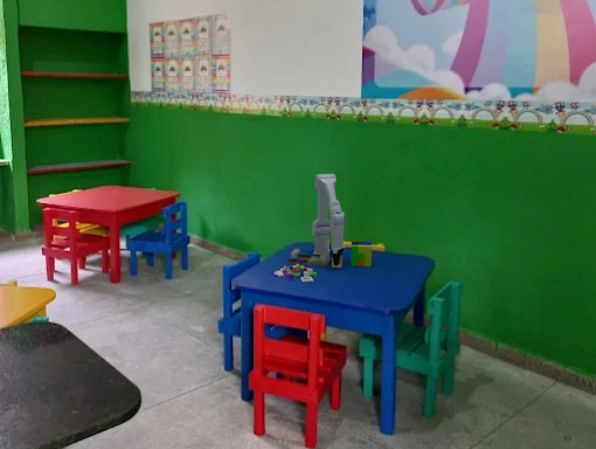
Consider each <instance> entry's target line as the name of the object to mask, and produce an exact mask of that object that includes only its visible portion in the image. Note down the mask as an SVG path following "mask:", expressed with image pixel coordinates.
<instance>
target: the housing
mask: <svg viewBox="0 0 596 449" xmlns="http://www.w3.org/2000/svg"><path fill="white" fill-rule="evenodd" d="M342 266H343V255H342V256H340V260H339V265H334V262H333V257H332V256H331V268H335V269H337V268H338V269H341V268H342Z"/></svg>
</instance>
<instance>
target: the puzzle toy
mask: <svg viewBox="0 0 596 449" xmlns="http://www.w3.org/2000/svg"><path fill="white" fill-rule="evenodd" d="M372 245H373V244H372V241H351V250H350V251H351V252H350V254H351V255H350V257H351V258H350V266H351V267H372V258H373V257H372V256H373V255H372V254H373V253H372V252H373V248H372V247H373V246H372Z"/></svg>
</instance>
